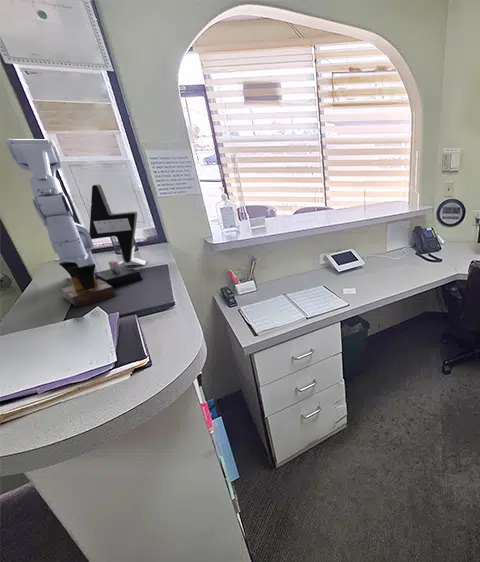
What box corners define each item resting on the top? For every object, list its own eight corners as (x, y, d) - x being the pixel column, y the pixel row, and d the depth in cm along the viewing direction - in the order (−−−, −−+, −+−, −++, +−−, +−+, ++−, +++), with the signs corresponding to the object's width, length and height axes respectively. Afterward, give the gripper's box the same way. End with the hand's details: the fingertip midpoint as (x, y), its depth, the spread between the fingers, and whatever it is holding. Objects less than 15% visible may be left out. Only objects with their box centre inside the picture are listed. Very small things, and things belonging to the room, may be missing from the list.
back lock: (111, 271, 103) (107, 260, 102) (115, 270, 104) (112, 259, 103) (117, 273, 101) (113, 262, 99) (121, 272, 102) (117, 261, 100)
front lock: (96, 284, 92) (91, 272, 91) (97, 284, 92) (93, 273, 90) (74, 289, 88) (69, 277, 87) (75, 290, 88) (70, 278, 86)
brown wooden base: (64, 298, 91) (59, 288, 90) (102, 287, 98) (99, 278, 97) (75, 307, 84) (71, 297, 83) (116, 295, 91) (112, 285, 90)
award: (101, 271, 113) (69, 186, 102) (105, 267, 118) (74, 185, 107) (150, 264, 120) (124, 183, 109) (152, 260, 124) (128, 182, 113)
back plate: (96, 281, 103) (93, 272, 102) (128, 273, 110) (125, 264, 109) (109, 288, 97) (105, 279, 96) (142, 279, 104) (139, 270, 103)
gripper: (40, 240, 86) (60, 285, 91) (54, 247, 78) (75, 296, 83) (74, 235, 91) (91, 278, 96) (89, 241, 83) (107, 287, 88)
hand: (85, 286), depth 90 cm, fingers open, 7 cm apart
